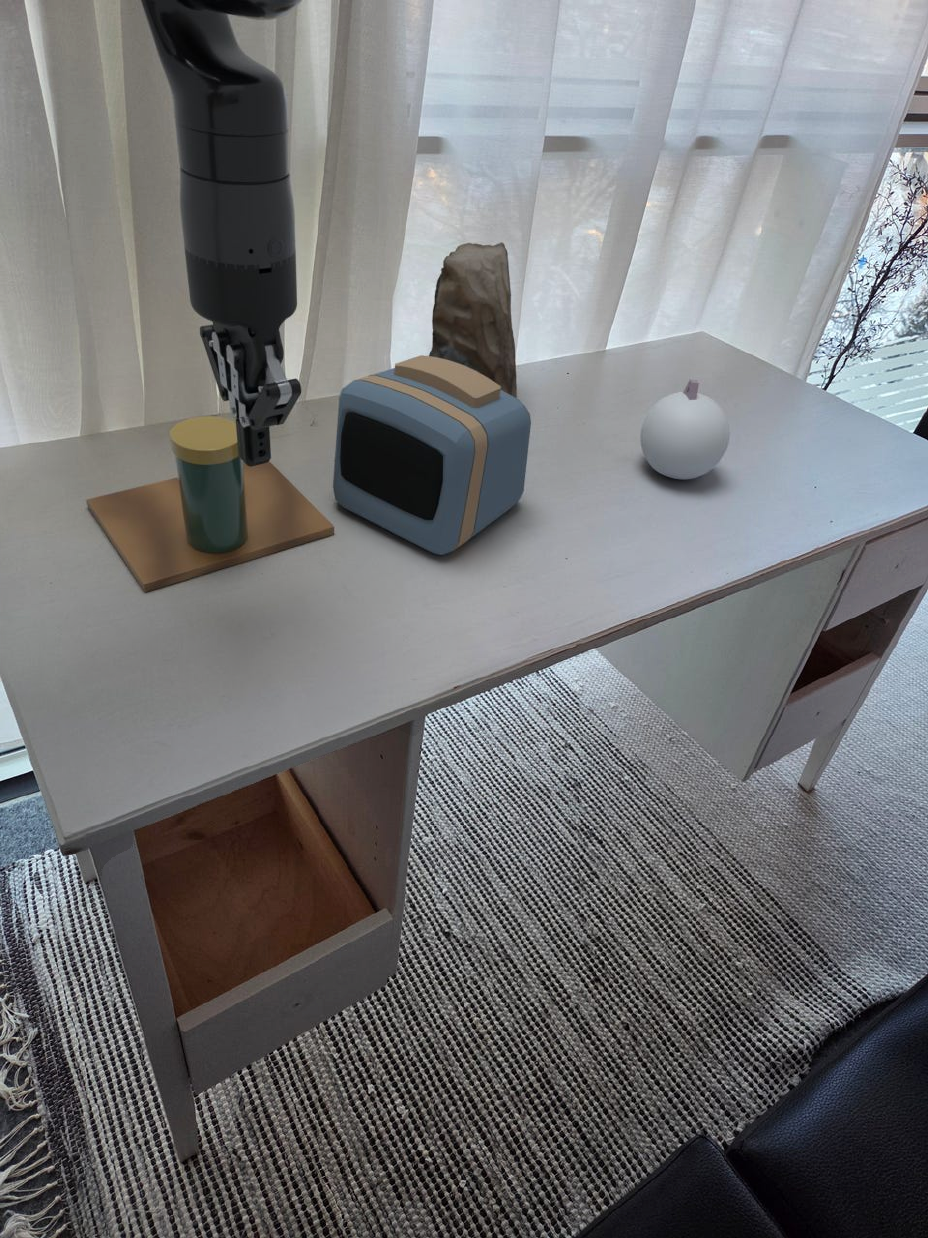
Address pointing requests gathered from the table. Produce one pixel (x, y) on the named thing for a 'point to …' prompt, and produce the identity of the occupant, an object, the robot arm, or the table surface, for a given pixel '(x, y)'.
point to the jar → (210, 483)
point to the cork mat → (156, 532)
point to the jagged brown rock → (476, 313)
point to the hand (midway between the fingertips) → (255, 460)
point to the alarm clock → (430, 451)
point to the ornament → (685, 434)
